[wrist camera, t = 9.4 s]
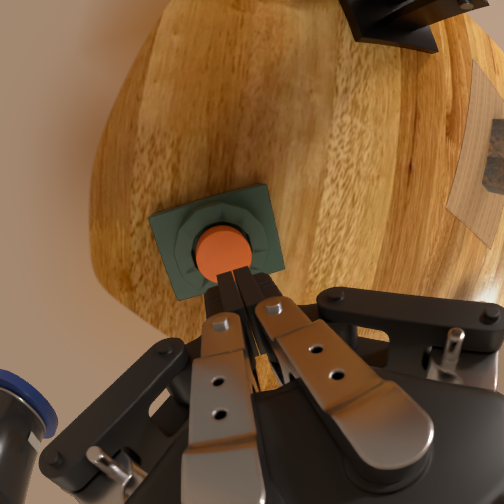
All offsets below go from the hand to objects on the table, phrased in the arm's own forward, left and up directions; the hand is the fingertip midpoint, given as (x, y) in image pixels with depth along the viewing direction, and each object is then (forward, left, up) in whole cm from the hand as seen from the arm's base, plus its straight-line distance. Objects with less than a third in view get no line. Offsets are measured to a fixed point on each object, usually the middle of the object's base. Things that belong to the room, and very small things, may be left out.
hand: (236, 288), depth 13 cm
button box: (0, 0, -10) cm, 10 cm away
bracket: (+23, +20, -10) cm, 32 cm away
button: (0, 0, -7) cm, 7 cm away
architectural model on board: (+40, +2, -10) cm, 41 cm away
